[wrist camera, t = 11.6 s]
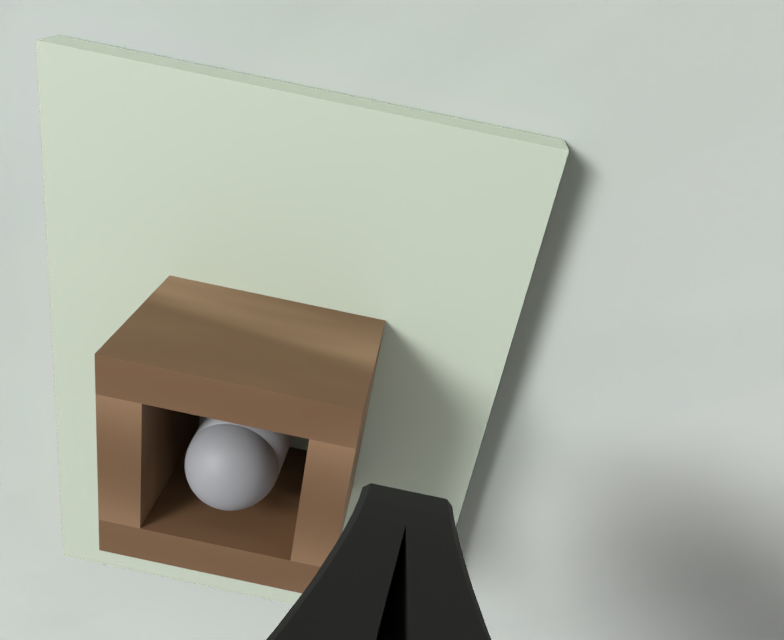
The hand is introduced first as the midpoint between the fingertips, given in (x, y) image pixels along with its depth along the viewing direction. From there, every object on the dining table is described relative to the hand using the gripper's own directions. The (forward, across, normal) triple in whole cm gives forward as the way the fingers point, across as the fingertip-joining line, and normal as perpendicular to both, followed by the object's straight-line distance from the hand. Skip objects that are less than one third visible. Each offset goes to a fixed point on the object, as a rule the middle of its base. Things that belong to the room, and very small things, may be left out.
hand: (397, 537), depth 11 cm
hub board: (+8, +4, +3) cm, 10 cm away
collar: (+8, +4, +3) cm, 9 cm away
